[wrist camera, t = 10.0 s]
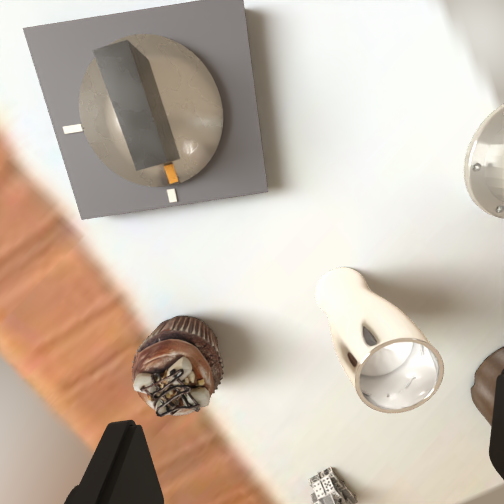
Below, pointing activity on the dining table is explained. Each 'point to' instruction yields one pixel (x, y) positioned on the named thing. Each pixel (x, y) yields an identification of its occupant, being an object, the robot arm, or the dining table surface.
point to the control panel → (212, 56)
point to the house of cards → (330, 489)
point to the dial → (150, 110)
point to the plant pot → (487, 384)
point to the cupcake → (178, 367)
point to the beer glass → (378, 344)
